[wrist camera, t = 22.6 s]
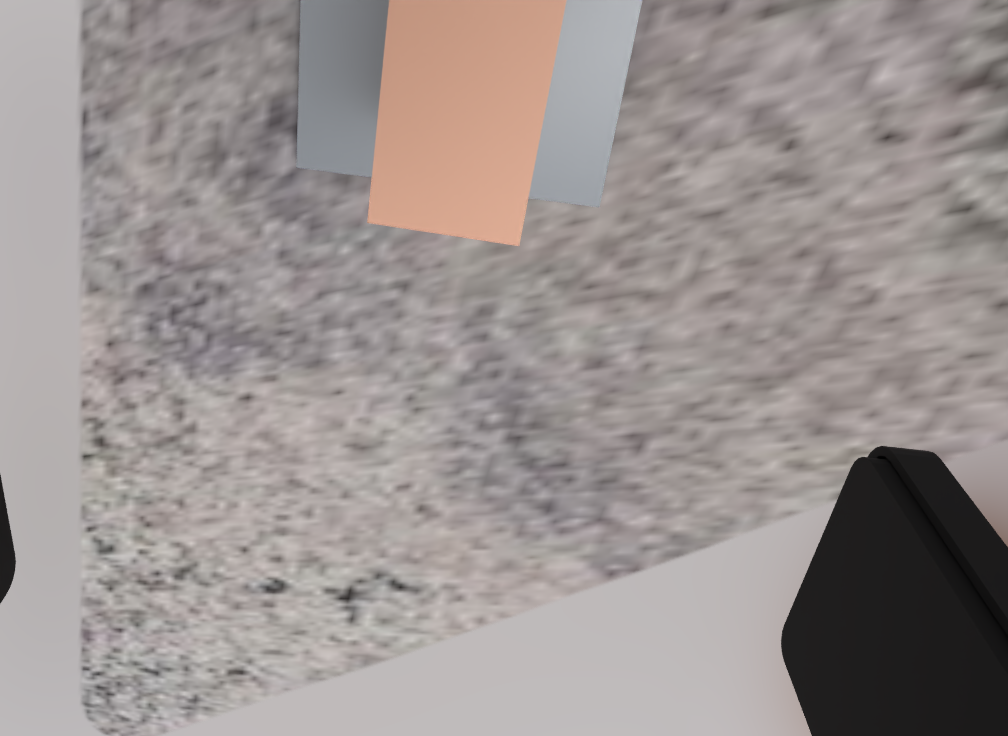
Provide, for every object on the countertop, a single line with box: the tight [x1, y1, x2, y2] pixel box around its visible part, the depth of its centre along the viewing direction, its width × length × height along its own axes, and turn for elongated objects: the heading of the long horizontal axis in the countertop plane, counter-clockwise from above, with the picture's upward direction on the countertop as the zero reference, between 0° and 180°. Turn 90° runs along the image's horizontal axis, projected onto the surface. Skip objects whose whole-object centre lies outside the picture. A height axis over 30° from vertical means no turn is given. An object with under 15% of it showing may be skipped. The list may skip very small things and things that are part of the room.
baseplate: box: [296, 0, 642, 207], centre depth 37 cm, size 14×14×1 cm
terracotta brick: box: [367, 0, 566, 246], centre depth 29 cm, size 9×5×6 cm, turn 170°
